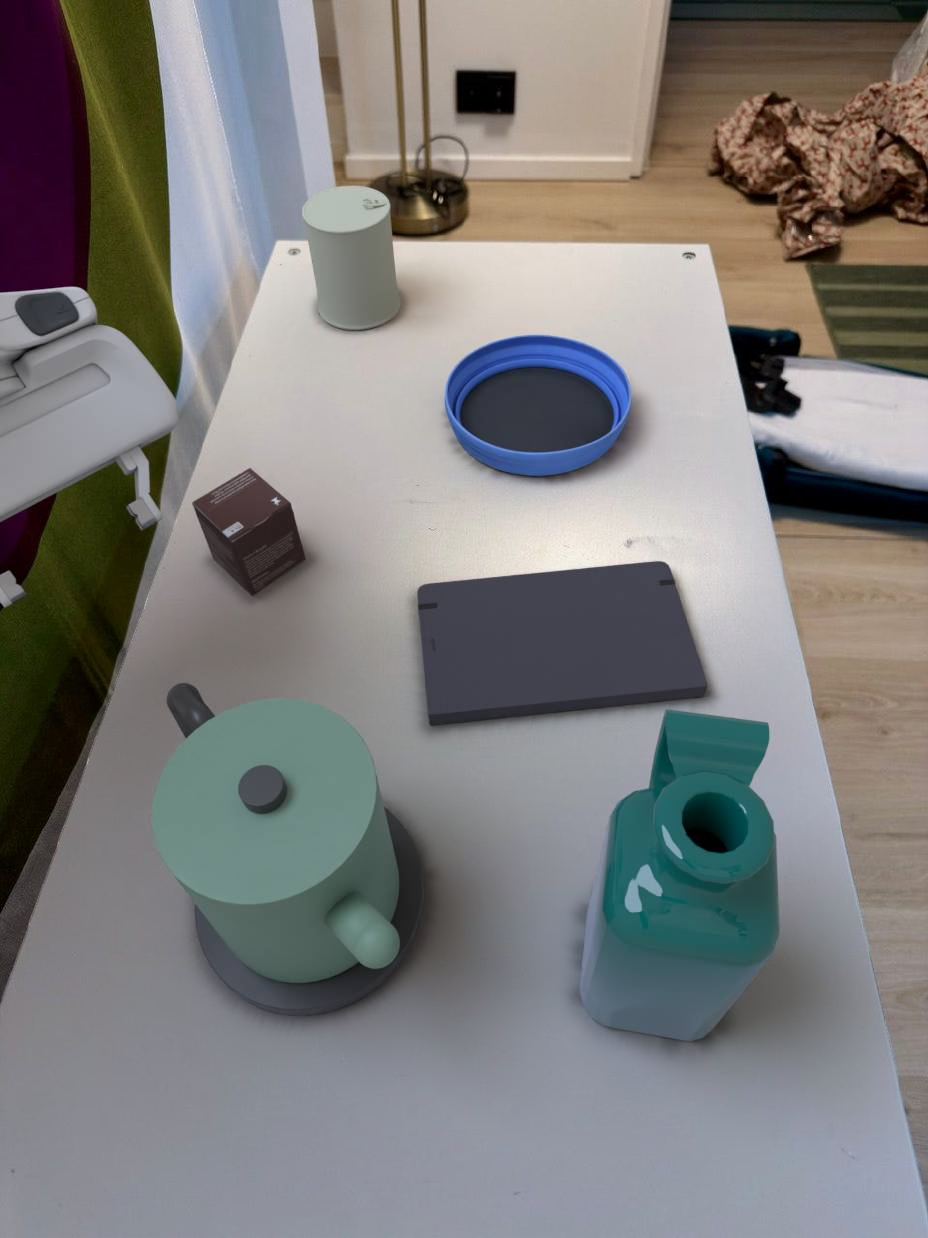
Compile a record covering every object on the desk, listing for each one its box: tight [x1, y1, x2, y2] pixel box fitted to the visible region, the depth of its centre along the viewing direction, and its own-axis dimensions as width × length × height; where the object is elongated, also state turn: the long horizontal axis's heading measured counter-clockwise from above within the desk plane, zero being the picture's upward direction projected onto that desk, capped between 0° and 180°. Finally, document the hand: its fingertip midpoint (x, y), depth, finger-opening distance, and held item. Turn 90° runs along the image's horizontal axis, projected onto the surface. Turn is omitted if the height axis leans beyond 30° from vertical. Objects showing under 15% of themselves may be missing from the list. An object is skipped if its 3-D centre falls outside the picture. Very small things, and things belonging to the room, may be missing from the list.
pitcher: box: [579, 708, 781, 1042], centre depth 49 cm, size 10×8×22 cm
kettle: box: [150, 682, 400, 983], centre depth 53 cm, size 22×12×15 cm, turn 41°
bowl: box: [444, 334, 632, 477], centre depth 88 cm, size 18×18×4 cm
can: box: [301, 185, 401, 331], centre depth 97 cm, size 9×9×12 cm
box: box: [191, 467, 307, 597], centre depth 76 cm, size 6×6×7 cm
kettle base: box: [194, 806, 425, 1017], centre depth 60 cm, size 15×15×2 cm
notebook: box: [417, 560, 708, 726], centre depth 72 cm, size 13×2×21 cm
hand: (86, 561), depth 57 cm, fingers open, 8 cm apart
